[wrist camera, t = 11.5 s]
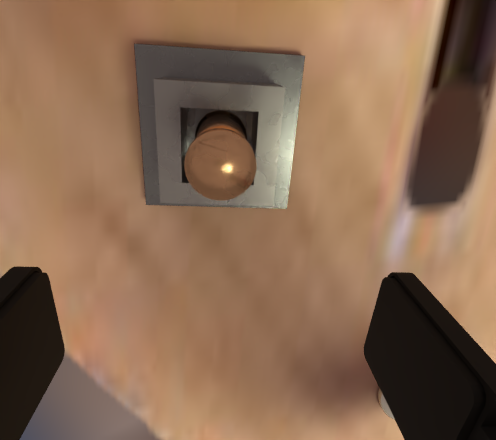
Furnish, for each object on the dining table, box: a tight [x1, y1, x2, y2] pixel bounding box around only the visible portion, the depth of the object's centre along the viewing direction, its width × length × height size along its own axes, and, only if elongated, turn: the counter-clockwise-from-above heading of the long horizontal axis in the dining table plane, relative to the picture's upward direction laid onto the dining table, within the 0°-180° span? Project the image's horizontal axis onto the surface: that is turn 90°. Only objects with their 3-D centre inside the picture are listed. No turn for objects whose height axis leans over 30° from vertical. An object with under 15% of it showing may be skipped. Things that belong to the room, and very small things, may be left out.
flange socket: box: [134, 44, 305, 209], centre depth 28 cm, size 14×14×6 cm
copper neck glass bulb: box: [184, 110, 256, 201], centre depth 26 cm, size 5×5×10 cm
